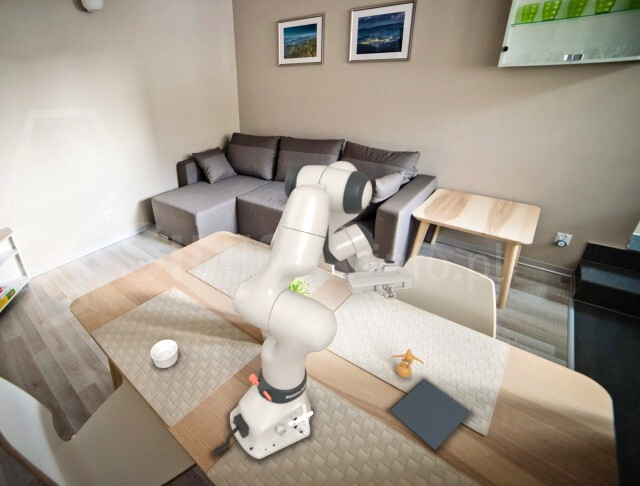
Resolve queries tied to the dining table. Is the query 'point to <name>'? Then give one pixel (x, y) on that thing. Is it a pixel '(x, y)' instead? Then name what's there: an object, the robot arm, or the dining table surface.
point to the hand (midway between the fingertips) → (391, 296)
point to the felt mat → (430, 413)
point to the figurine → (405, 368)
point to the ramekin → (164, 353)
